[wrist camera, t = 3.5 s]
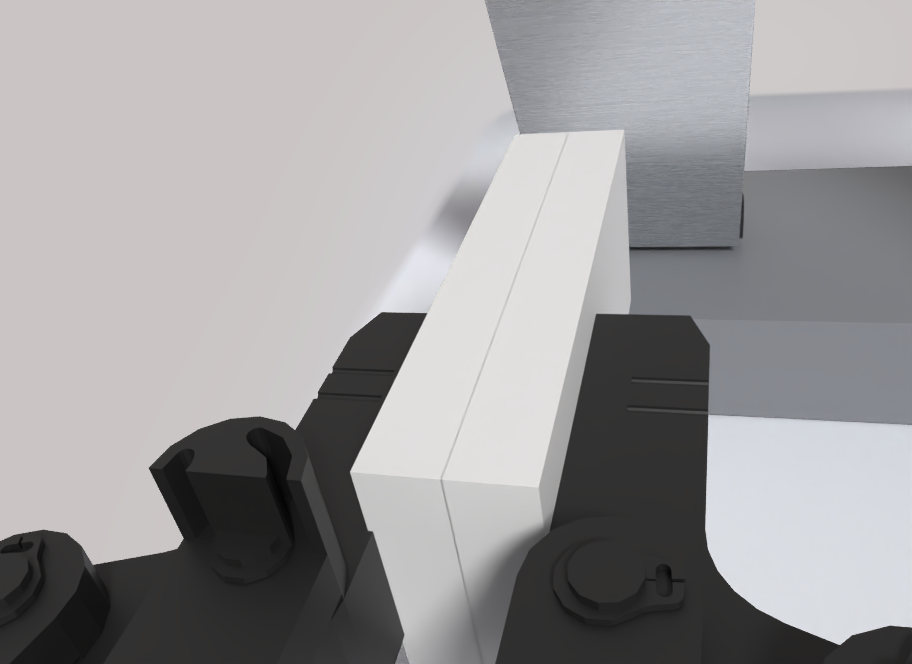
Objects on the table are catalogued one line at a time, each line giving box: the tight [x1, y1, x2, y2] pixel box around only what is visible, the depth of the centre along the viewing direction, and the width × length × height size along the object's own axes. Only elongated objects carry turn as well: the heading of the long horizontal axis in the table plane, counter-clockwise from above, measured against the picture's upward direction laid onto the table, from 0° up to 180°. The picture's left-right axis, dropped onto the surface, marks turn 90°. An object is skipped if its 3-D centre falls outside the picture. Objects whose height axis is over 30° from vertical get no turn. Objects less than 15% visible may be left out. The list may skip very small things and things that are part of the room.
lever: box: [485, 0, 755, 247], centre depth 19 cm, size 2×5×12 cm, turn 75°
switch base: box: [629, 166, 912, 424], centre depth 22 cm, size 8×22×3 cm, turn 75°
